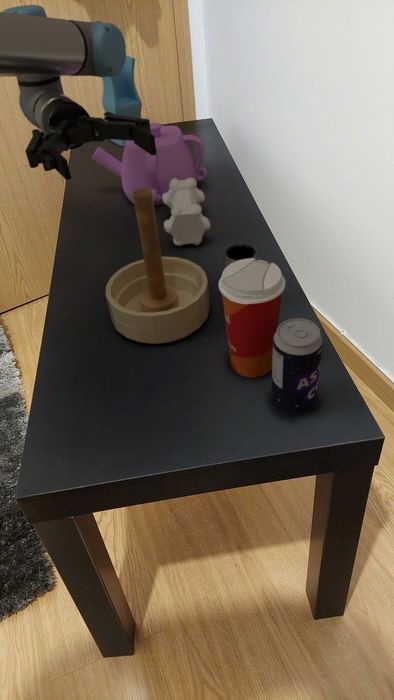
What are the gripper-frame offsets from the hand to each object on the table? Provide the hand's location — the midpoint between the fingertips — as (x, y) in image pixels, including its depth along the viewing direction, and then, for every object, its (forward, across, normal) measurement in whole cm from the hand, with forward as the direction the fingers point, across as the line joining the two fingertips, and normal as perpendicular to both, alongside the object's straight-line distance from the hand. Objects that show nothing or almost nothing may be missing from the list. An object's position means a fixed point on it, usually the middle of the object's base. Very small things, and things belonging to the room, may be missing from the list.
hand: (111, 157), depth 73 cm
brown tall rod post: (+10, 0, -22) cm, 24 cm away
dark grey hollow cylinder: (+16, -12, -23) cm, 30 cm away
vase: (-67, -29, -22) cm, 76 cm away
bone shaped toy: (-12, -17, -23) cm, 31 cm away
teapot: (-33, -20, -22) cm, 44 cm away
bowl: (+10, 0, -23) cm, 25 cm away
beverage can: (+36, -6, -23) cm, 43 cm away
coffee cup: (+27, -6, -23) cm, 36 cm away
